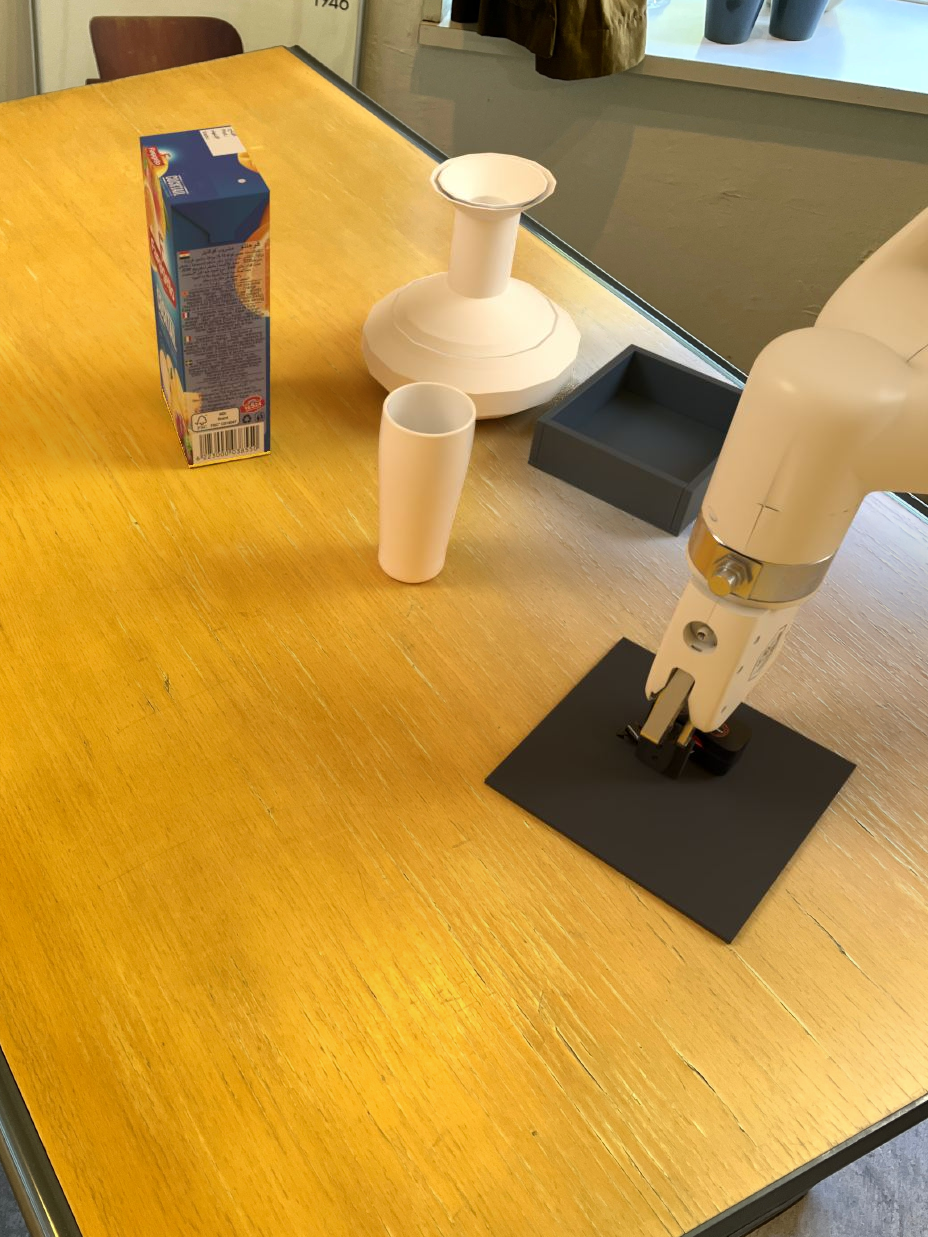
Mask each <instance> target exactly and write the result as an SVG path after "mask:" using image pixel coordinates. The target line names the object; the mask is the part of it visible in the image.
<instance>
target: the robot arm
mask: <svg viewBox="0 0 928 1237" xmlns="http://www.w3.org/2000/svg"><path fill="white" fill-rule="evenodd" d="M747 376H748V377H747V379H746V381H745V384H744V388H743V389H742V390H743V393H742V395H741V398H740V401H739V403H738V406H737V409H736V412H735V414H734V417H733V420H732V423H731V425H730V428H729V431H728V433H727V436H726V439H725V442H724V444H723V447H722V450H721V453H720V455H719V458H718V461H717V464H716V467H715V469H714V472H713V475H712V478H711V480H710V483H709V486H708V489H707V492H706V494H705V497H704V500H703V502H702V505H701V508H700V511H699V513H698V516H697V518H696V519H695V522H694V524H693V528H692V530H691V533H690V536H689V537H688V540H687V542H686V547H685V559H686V563H687V566H688V568H689V570H690V572H691V576H690V578H689V580H688V581H687V584H686V587H685V589H684V590H683V593H682V594H681V597H680V598H679V599H678V602H677V606H676V608H675V610H674V612H673V615H672V617H671V619H670V621H669V624H668V626H667V629H666V631H665V633H664V635H663V638H662V640H661V643H660V644H659V647H658V650H657V653H656V657H655V660H654V662H653V665H652V668H651V670H650V673H649V677H648V680H647V683H646V688H645V691H646V696H647V698H648V700H649V701H650V700H652V699H654V700H655V699H656V698H657V697H658V696H659V697H658V699H657V701H656V703H655V705H654V707H653V709H652V711H651V713H650V716H649V718H648V719H647V722H646V724H645V725H644V727H643V729H642V730H641V733H640V735H641V737H640V740H639V743H638V745H637V748H636V750H635V753H634V754H635V757H636V758H637V759H639V760H640V761H642V762H644V763H645V764H647V765H648V766H650V767H651V768H653V769H655V770H657V771H659V772H660V773H662V774H664V775H665V776H667V777H669V778H670V779H673V780H676V779H677V778H678V777H679V775H680V774H681V773H682V770H683V768H684V766H685V764H686V761H687V759H688V757H689V755H690V752H691V750H692V748H693V746H694V744H695V741H696V740H694V739H693V738H692V736H693V734H694V732H695V730H696V728H698V729H700V730H702V731H703V732H710V731H713V730H716V729H717V728H719V727H720V726H721V725H722V724H723V723H724V721H725V720H726V719H727V718H728V717H729V716H730V715H731V713H732V712H733V711H734V710H735V709H736V708H737V706H738V705H739V704H740V703H741V702H743V701H744V700H745V698H746V697H747V696H748V694H750V692H751V691H753V689H754V688H755V686H756V685H757V684H758V682H759V681H760V680H761V679H762V678H763V677H764V675H765V674H766V673H767V671H768V670H769V669H770V668H771V667H772V665H773V663H774V662H775V661H776V659H777V657H778V656H779V654H780V652H781V650H782V648H783V647H784V644H785V641H786V639H787V636H788V634H789V632H790V629H791V627H792V625H793V622H794V620H795V617H796V615H797V613H798V611H799V609H800V606H801V605H802V604H804V603H806V602H808V601H809V600H810V599H812V598H813V597H815V595H816V594H817V593H818V591H819V589H820V587H821V585H822V583H823V582H824V580H825V577H826V575H827V573H828V571H829V570H830V567H831V565H832V564H833V561H834V559H835V558H836V555H837V553H838V551H839V549H840V548H841V546H842V544H843V541H844V540H845V538H846V535H848V534H847V533H848V531H849V530H850V527H851V525H852V523H853V521H854V519H855V517H856V515H857V514H858V511H859V509H860V508H861V505H862V503H863V501H864V499H865V498H866V497H867V496H868V495H869V494H871V493H876V492H888V493H889V492H891V493H903V494H904V493H905V494H919V495H920V494H921V495H922V494H923V495H928V206H927V207H926V208H924V209H923V210H922V211H921V212H920V213H919V214H917V215H916V216H915V217H913V219H911V220H910V221H909V222H908V223H907V224H906V225H904V226H903V227H902V228H901V229H900V230H899V231H897V232H896V233H895V234H894V235H893V236H891V237H890V238H889V239H888V240H887V241H886V242H885V243H884V244H882V245H881V246H880V247H879V248H878V249H877V250H876V251H874V253H872V254H871V255H870V256H869V257H868V258H867V259H866V260H864V261H863V263H861V264H860V265H859V266H858V267H857V268H856V269H855V270H854V271H853V272H852V273H851V274H850V275H849V276H848V277H847V278H846V279H845V280H844V281H843V282H842V283H841V284H840V285H839V287H838V288H837V289H836V290H835V292H833V294H832V295H831V296H830V298H829V299H828V300H827V301H826V303H825V305H824V306H823V308H822V309H821V311H820V312H819V314H818V316H817V318H816V320H815V323H814V325H813V326H809V327H804V328H798V329H794V330H790V331H788V332H785V333H783V334H781V335H779V336H777V337H776V338H774V339H773V340H771V341H770V342H769V343H767V345H765V346H764V347H763V349H762V350H761V351H760V352H759V353H758V355H757V357H756V358H755V359H754V362H753V364H752V366H751V369H750V371H749V373H748V375H747ZM680 711H681V712H683V713H684V714H686V715H688V716H689V718H688V720H687V722H686V724H685V726H684V727H683V726H682V725H680V724H678V723H676V722H675V719H676V717H677V716H678V714H679V712H680Z"/></svg>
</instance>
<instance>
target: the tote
mask: <svg viewBox="0 0 928 1237" xmlns="http://www.w3.org/2000/svg"><path fill="white" fill-rule="evenodd" d="M743 390H744V389H743V388H740V387H737V386H735V385H732V384H731V383H728V382H726V381H723V380H720V379H718V378H716V377H714V376H711V375H708V374H706V373H705V372H704V373H703V372H702V371H699V370H697V369H694V368H691V367H689V366H687V365H684V364H682V363H679V362H677V361H675V360H672V359H671V358H668V357H665V356H663V355H660V354H658V353H656V352H653V351H650V350H648V349H646V348H643V347H641V346H638V345H637V344H633V343H631V344H629V345H628V346H626V348H625V349H623V350H622V351H621V352H619V353H618V354H617V355H615V356H614V357H613V358H611V359H610V360H609V361H608V362H607V363H606V364H604V365H603V366H602V367H600V368H599V369H598V370H596V371H595V372H594V373H593V374H592V375H591V376H588V378H587V379H585V380H584V381H582V383H580V384H579V385H578V386H576V387H575V388H574V389H572V391H570V392H569V393H567V395H565V396H564V397H563V398H562V399H560V400H559V401H558V402H556V403H555V404H554V405H553V406H551V408H549V409H548V410H547V411H545V412H544V413H542V414H541V415H540V416H539V417H538V418H537V419H536V421H535V426H534V430H533V437H532V441H531V444H530V445H531V446H530V450H529V455H528V460H527V464H528V465H530V466H531V467H534V468H536V469H538V470H540V471H542V472H544V473H546V474H548V475H550V476H553V477H554V478H556V479H558V480H561V481H562V482H565V483H567V484H569V485H571V486H572V487H575V488H577V489H579V490H581V491H583V492H585V493H586V494H589V495H591V496H593V497H594V498H597V499H599V500H601V501H603V502H605V503H607V504H609V505H611V506H613V507H616V508H618V509H620V510H622V511H624V512H626V513H627V514H630V515H632V516H634V517H636V518H638V519H640V520H641V521H644V522H646V523H648V524H650V525H652V526H654V527H656V528H658V529H660V530H662V531H664V532H666V533H668V534H670V535H672V536H675V537H676V538H677V537H679V536H680V535H681V534H682V533H683V532H684V531H685V530H686V529H687V528H688V527H689V526H690V525H691V524H692V523H693V522H694V521H696V519H697V516H698V513H699V511H700V508H701V505H702V502H703V500H704V497H705V494H706V492H707V489H708V486H709V483H710V480H711V478H712V475H713V472H714V469H715V467H716V464H717V461H718V458H719V455H720V453H721V450H722V447H723V444H724V442H725V439H726V436H727V433H728V431H729V428H730V425H731V423H732V420H733V417H734V414H735V412H736V409H737V406H738V403H739V401H740V398H741V395H742V393H743Z"/></svg>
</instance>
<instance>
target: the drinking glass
mask: <svg viewBox="0 0 928 1237" xmlns="http://www.w3.org/2000/svg"><path fill="white" fill-rule="evenodd" d="M475 430H476V407H475V405H474V403H473V401H472V400H471V399H470V398H469V396H467V395H466V394H465V393H464V392H462V391H460V390H458V389H456V388H454V387H452V386H449V385H445V384H441V383H434V382H418V383H412V384H407V385H404V386H402V387H399V388H397V389H395V390H394V391H392V392H391V393H390V392H389V393H388V395H387V396H386V398H385V399H384V401H383V404H382V410H381V418H380V425H379V432H378V446H377V447H378V448H377V478H378V483H377V484H378V485H377V486H378V539H379V540H378V549H377V559H378V564H379V566H380V568H381V569H382V571H383V572H384V573H385V574H386V575H387V576H389V577H390V578H392V579H394V580H395V581H398V582H402V583H405V584H406V583H407V584H419V583H425V582H428V581H431V580H432V579H435V577H437V576H438V575H439V574H440V573H441V571H442V570H443V568H444V565H445V562H446V557H447V556H446V555H447V550H448V545H449V542H450V537H451V533H452V530H453V526H454V521H455V518H456V514H457V510H458V508H459V507H458V506H459V503H460V499H461V496H462V492H463V489H464V486H465V485H464V484H465V481H466V477H467V474H468V469H469V465H470V461H471V458H472V451H473V445H474V439H475Z"/></svg>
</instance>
